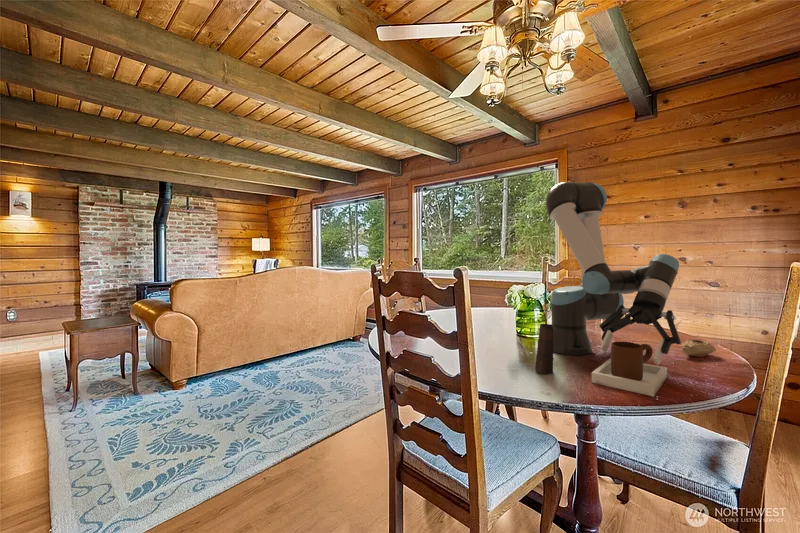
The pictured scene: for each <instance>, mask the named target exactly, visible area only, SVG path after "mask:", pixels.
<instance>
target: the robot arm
mask: <svg viewBox="0 0 800 533" xmlns="http://www.w3.org/2000/svg"><path fill="white" fill-rule="evenodd" d="M607 200H608V195H607V192H606V190H605V188H604V187H603V186H602V185H600V184H599V183H595V182H590V181H589V182H588V181H587V182H586V181H585V182H583V181H582V182H579V181H573V182H572V181H563V182H562V181H561V182H559V183H557V184H555V185H554V186H552V188H550V189H549V191H548V193H547V196H546V198H545V207H546V211H547V214H548V215H549V218H550V219H551V220H552V221H554V222H556V224H557V226H558V228H559V230H560V232H561V234H562V235H563V237H564V239H565V241H566V242H567V244H568V246H569V248H570V251H571V253H572V254H573V256H574V257H575V259H576V261H577V263H578V265H579V266H580V271H581V283H580V284H579V285H570V286H561V287H558V288H555V289H553V291H552V292H551V299H550V303H551V304H550V305H551V324H552V325H553V342H554V343H553V353H557V354H560V355H561V354H562V355H568V356H570V355H571V356H585V355H590V354H591V353H592V352H593V351H592V350H593V349H592V348H593V347H592V343H591V340H590V337H589V334H588V332H587V321H594V320H595V321H596V320H604V321H602V322H601V323H599V328H600V329H601V331H602V332H603V333H602V336H601V345H600V347H599V348H600V350H601V352H602V353H603V354H607V351H608V349H609V346H610V344H611V343H612V340H613V337H614V333H616V332H617V331H619V330H621V329H623V328H625V327H627V326H628V325H633V324H638V325H639V324H640V325H641V324H642V325H643V324H644V325H648V326H649V325H651V324H652V326H653V327H654V328H655V330H656V331H657V333H659V335H660V336H661V338H659V342H658V344H657V347H656V349H655V352H654V355H653V357H652V359H653V361H654V364H655V365H656V366H660V364H661V362H662V358H663V356H664V354H665V355H667V354H669V351H670V348H671V346H672V345H673V344H676V345H682V341H681V339H680V336H679V334H678V330H677V328H676V325H675V315H674V313H673V310H671V309H669V310H667V311H664V309H665V306H666V303H667V301H668V297H669V295H670V292H671V290H672V288H673V284H674V282H675V280H676V277H677V275H678V273H679V268H680V262H679V260H678V259H676V258H675V257H674V256H672V255H669V254H667V253H660V254H656V255H654V256H653V257H651V259H650V260H649V263H648V264H646V265H642V266H640V267H637V268H632V269H626V270H624V269H621V270H611V269H610V267H609V266H608V263H607V262H606V257H605V252H604V246H603V239H602V233H601V225H600V220H599V218H600V217H601V215H602V214H603V209H604V208H605V206H606V204H607ZM636 292H637V293H636ZM634 293H636V295H635V296H634V297H635V298H634V299H633V301H632V306H631V307H625V306H624V302H625V301H624V297H623V295H628V294H634ZM662 318H664V320H666V321H667V324H668V327H669V331H670V333H671V336H670V335H669V334H668V333H667V332H666V330H665V329H664V328H663V326H662V325H661V324H660V323H659V322H660V321H658V320H660V319H662Z"/></svg>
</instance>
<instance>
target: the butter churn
mask: <svg viewBox="0 0 800 533" xmlns="http://www.w3.org/2000/svg"><path fill="white" fill-rule="evenodd" d="M547 283H548V282H547V281H546V280H545V281H544V319H545V320H544V321H545V322H544V323H540V325H539V331H538V332H539V333H538V340H537V348H536V349H537V350H536V357H535V364H534V365H535V368H534V370H535V372H536V373H539V374H544V375H547V374H553V373H554V352H553V343H554V342H553V325H552V323H551V324H549V323H548V313H547V312H548V311H547V310H548V308H547V307H548V306H547V305H548V303H547V299H548V298H547V297H548V295H547V292H548V291H547V289H548V288H547V286H548V285H547Z"/></svg>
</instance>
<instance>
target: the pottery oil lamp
mask: <svg viewBox="0 0 800 533" xmlns="http://www.w3.org/2000/svg"><path fill="white" fill-rule="evenodd" d="M680 350H681V352H682V353H683V354H686V355H688V356H689V355H690V356H692V357H697V358H698V357H699V358H700V357H701V358H702V357H705V356H707V355H710V354H712V353H714V352H716V351H717V348H716V347H715V345H713V344H711V343H710V342H709V341H707V340H702V339H696V338H690V339H687V340H686V341H684V342H683V343H681V349H680Z"/></svg>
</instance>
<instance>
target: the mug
mask: <svg viewBox="0 0 800 533" xmlns="http://www.w3.org/2000/svg"><path fill="white" fill-rule="evenodd" d="M610 344H611V348H610V358H611V374H612V376H617V377H622V378H627V379H632V380H636V381H641V380H642V378H643V363H646V362H648V361H649V360H650V359H651V358H653V357H652V356H653V352H654V350H653V347H652V346H651V345H650V344H647V343H642V344H639V343H637V342H636V343H635V342H632V341H631V342H630V341H613V342H611V343H610ZM644 351H645V353H644Z"/></svg>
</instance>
